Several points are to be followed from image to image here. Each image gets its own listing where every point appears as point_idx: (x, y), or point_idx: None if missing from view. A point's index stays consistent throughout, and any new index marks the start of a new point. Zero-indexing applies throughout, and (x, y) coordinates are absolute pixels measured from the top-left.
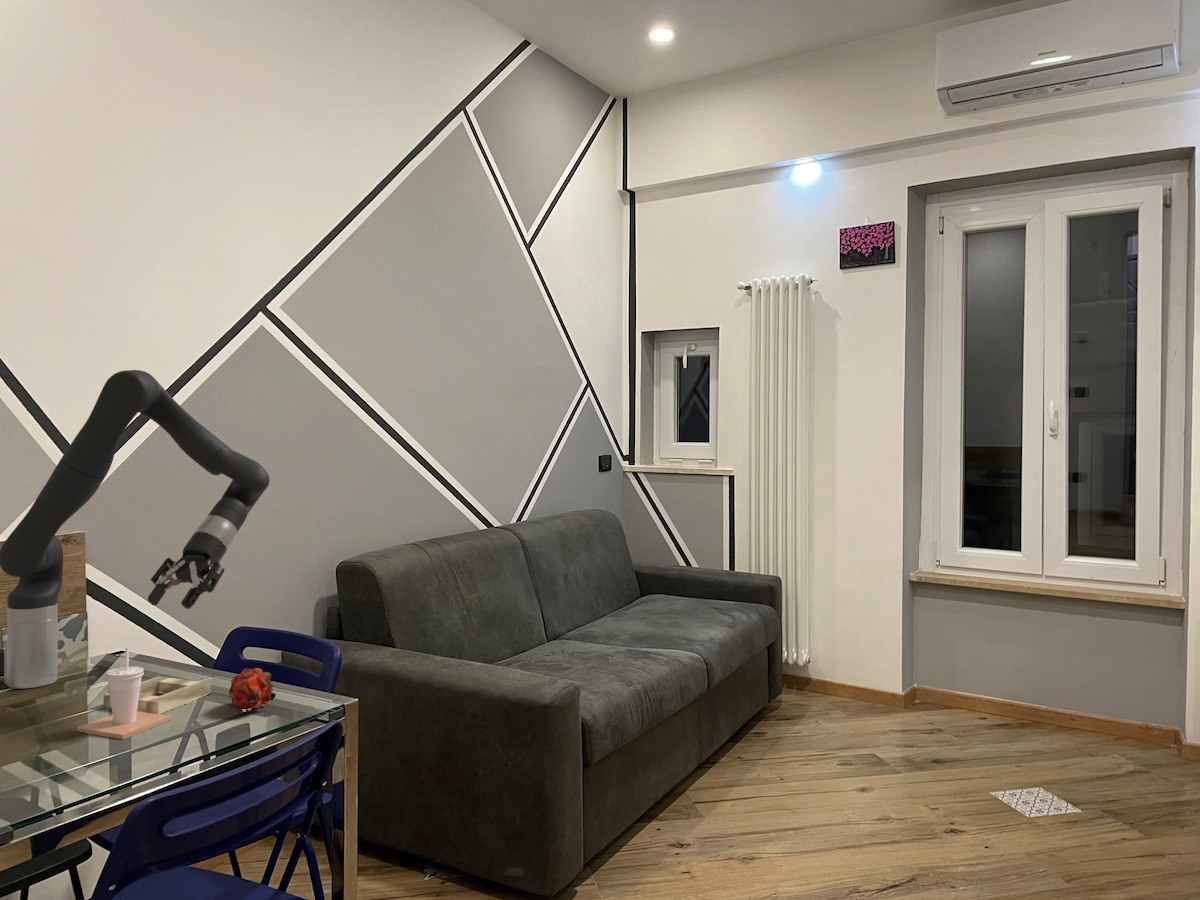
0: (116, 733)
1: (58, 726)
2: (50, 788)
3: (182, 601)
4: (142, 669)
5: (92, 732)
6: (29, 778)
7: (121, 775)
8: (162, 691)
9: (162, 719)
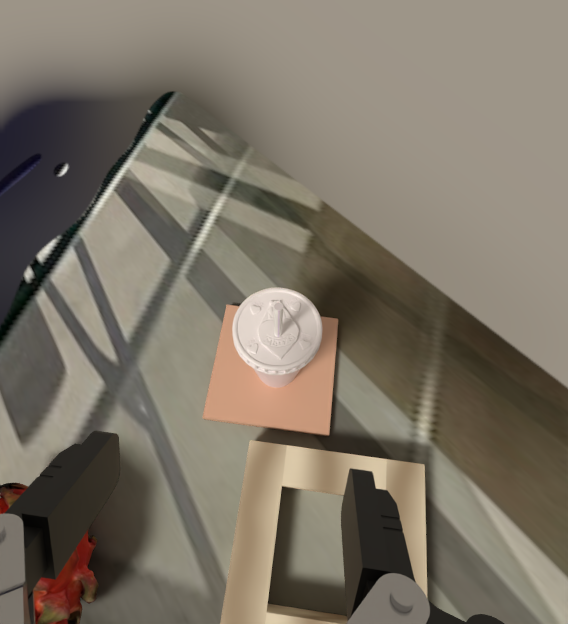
0: None
1: (395, 339)
2: (202, 154)
3: (107, 435)
4: (239, 346)
5: None
6: (253, 170)
7: (135, 196)
8: None
9: (207, 395)
